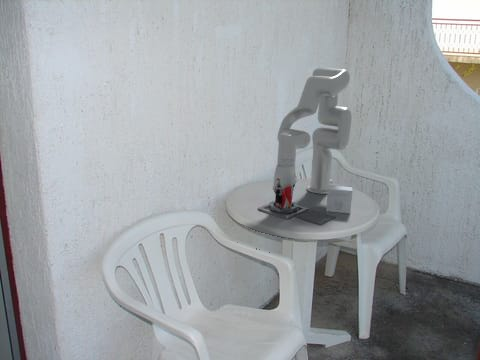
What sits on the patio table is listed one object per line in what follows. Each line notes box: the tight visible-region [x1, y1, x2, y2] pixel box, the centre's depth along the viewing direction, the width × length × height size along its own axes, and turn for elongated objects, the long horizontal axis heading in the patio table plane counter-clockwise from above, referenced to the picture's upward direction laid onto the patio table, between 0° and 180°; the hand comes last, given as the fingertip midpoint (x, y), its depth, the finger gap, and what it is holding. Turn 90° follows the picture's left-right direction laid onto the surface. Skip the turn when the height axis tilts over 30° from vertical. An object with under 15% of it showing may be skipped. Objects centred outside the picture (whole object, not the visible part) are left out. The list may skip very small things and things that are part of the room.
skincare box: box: [325, 184, 353, 214], centre depth 203 cm, size 10×6×10 cm, turn 78°
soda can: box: [276, 184, 294, 208], centre depth 201 cm, size 7×7×12 cm
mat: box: [295, 208, 337, 226], centre depth 195 cm, size 12×12×1 cm
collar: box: [257, 200, 310, 220], centre depth 202 cm, size 16×16×2 cm
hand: (283, 200), depth 201 cm, fingers closed on soda can, 6 cm apart
